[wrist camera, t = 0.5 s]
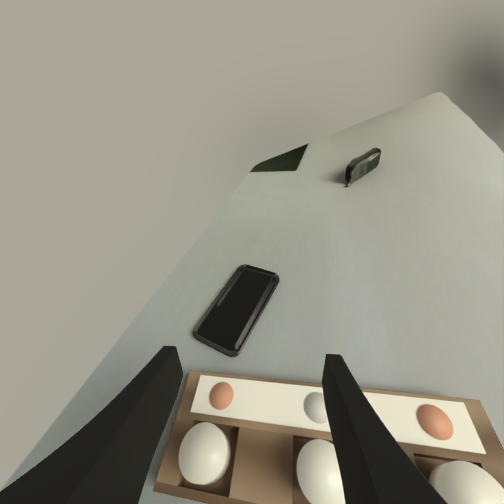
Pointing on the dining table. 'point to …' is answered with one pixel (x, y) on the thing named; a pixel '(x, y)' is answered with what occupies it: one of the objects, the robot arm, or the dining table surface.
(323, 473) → the middle button
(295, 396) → the pattern card
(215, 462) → the end button
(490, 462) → the button board
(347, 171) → the mobile phone
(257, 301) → the phone
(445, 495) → the end button
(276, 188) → the dining table surface
